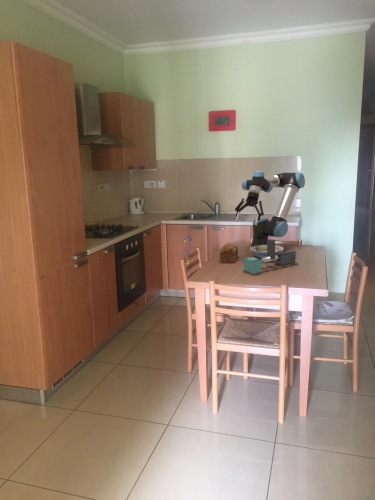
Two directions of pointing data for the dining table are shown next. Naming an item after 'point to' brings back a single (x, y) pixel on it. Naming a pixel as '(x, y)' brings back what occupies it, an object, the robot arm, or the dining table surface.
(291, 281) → the dining table surface
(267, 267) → the walnut board
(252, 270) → the teal block
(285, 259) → the dark grey block
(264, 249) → the ramen bowl
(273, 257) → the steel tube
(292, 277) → the dining table surface
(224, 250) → the bread
